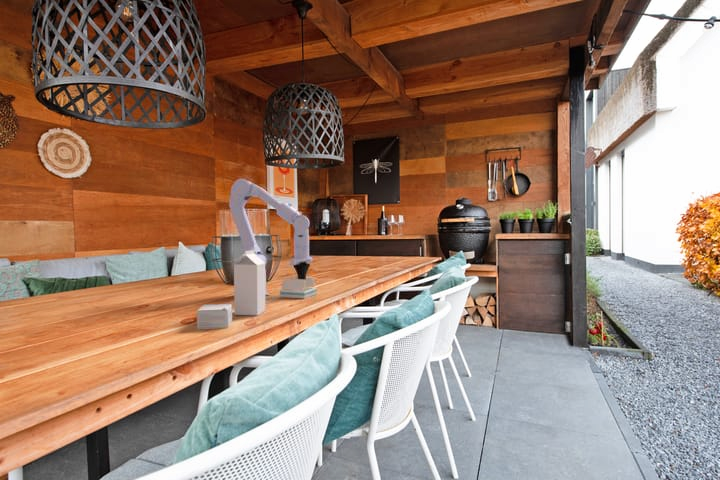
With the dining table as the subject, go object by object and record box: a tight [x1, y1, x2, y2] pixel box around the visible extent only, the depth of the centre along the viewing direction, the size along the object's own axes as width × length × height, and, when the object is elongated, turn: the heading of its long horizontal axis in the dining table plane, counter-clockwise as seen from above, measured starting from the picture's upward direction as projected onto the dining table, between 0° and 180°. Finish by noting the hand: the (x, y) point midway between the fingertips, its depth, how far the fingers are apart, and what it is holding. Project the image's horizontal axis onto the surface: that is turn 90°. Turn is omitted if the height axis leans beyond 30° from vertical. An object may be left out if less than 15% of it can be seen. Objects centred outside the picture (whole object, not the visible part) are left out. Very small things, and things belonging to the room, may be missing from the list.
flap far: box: [291, 275, 316, 288], centre depth 154 cm, size 1×9×4 cm, turn 70°
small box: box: [196, 303, 233, 330], centre depth 106 cm, size 8×8×5 cm
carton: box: [279, 286, 318, 300], centre depth 151 cm, size 10×10×3 cm
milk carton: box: [233, 250, 266, 316], centre depth 120 cm, size 7×7×19 cm
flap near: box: [280, 278, 306, 290], centre depth 147 cm, size 1×9×4 cm, turn 71°
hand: (301, 282), depth 153 cm, fingers closed, pressing on flap far
